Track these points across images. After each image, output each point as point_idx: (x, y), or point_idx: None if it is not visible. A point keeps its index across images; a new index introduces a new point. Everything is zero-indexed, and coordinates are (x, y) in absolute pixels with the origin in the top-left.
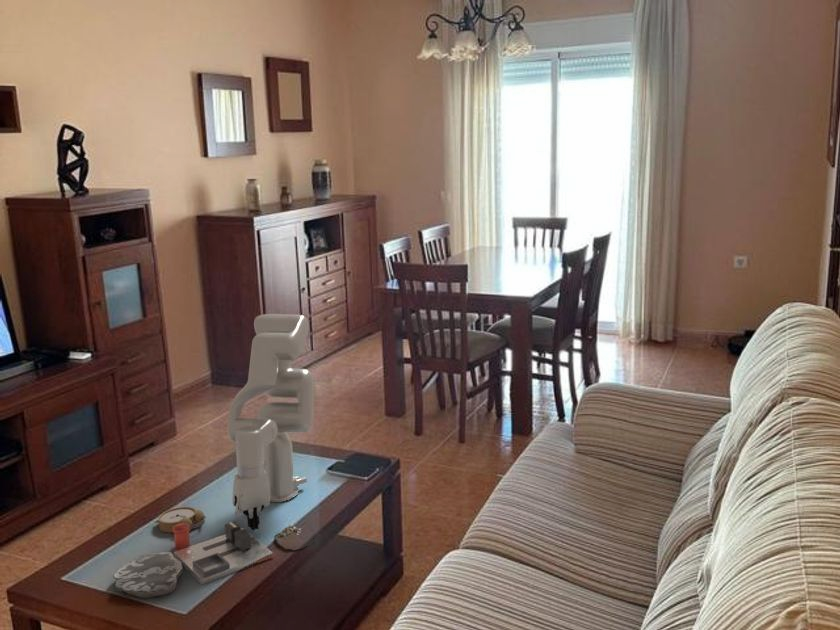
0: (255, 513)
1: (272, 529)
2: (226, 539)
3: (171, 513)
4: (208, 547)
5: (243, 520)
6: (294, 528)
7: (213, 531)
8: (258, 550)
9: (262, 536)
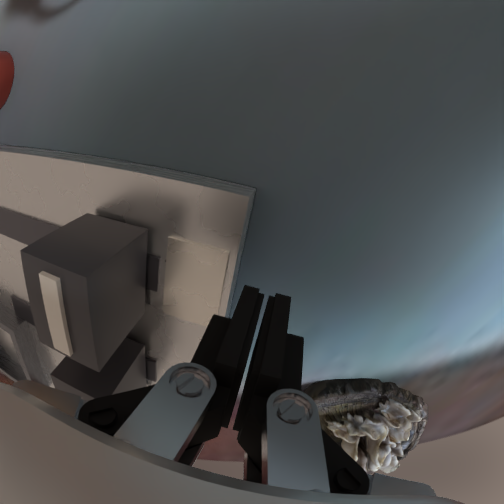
0: (246, 445)
1: (402, 309)
2: None
3: None
4: (10, 227)
5: (388, 41)
6: (369, 469)
7: (141, 17)
8: None
9: (302, 321)
